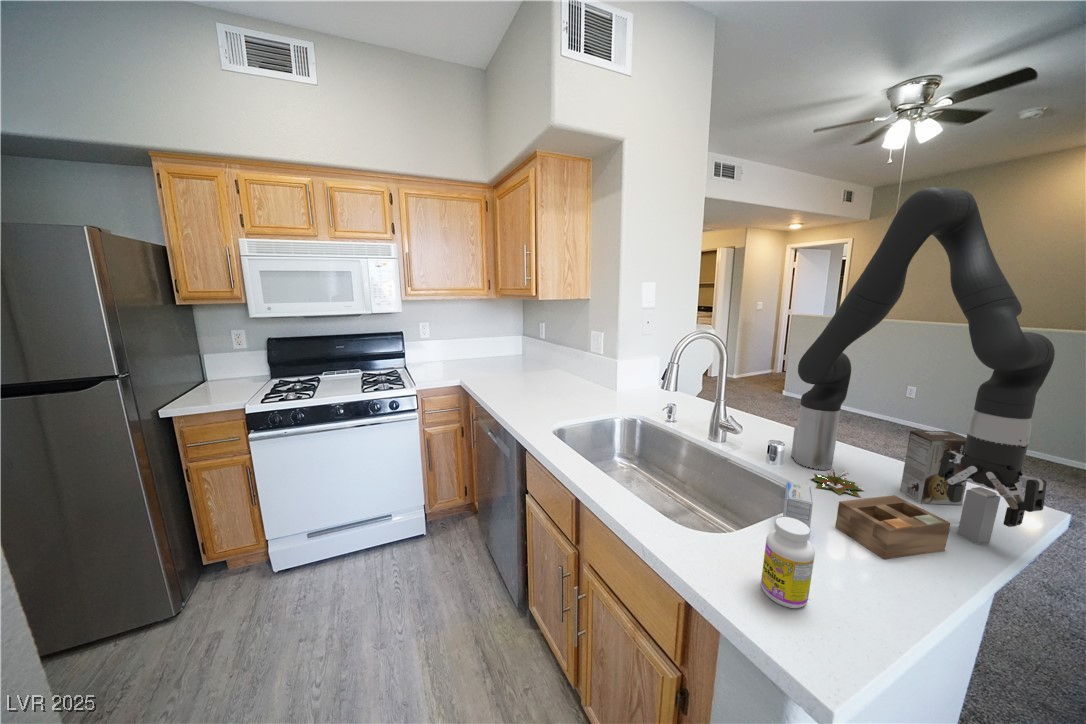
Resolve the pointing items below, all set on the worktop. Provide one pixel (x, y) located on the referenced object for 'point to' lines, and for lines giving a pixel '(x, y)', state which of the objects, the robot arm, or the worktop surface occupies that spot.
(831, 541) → the worktop surface
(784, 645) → the worktop surface
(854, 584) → the worktop surface
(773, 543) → the supplement bottle
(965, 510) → the plug
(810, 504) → the medicine box
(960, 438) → the coffee box
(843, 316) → the robot arm
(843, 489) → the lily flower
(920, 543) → the socket block
